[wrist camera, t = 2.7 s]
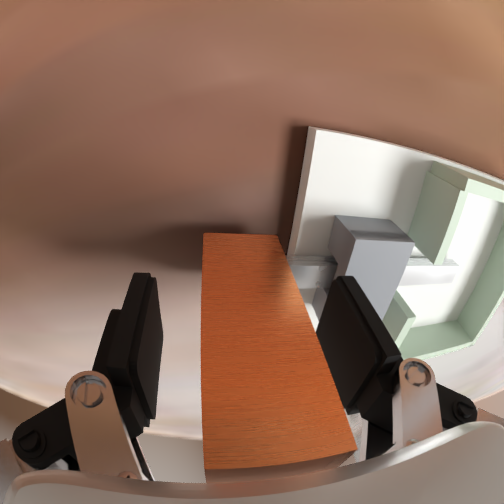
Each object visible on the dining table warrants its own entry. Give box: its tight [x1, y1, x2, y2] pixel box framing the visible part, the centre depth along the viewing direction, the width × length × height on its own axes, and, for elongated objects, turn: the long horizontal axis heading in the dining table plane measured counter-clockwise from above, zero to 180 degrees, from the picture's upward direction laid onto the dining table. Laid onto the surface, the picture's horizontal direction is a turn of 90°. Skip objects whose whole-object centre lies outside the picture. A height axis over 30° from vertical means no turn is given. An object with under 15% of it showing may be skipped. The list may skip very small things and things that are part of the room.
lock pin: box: [201, 233, 459, 483], centre depth 10 cm, size 3×14×9 cm, turn 84°
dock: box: [287, 126, 504, 360], centre depth 14 cm, size 12×16×4 cm
